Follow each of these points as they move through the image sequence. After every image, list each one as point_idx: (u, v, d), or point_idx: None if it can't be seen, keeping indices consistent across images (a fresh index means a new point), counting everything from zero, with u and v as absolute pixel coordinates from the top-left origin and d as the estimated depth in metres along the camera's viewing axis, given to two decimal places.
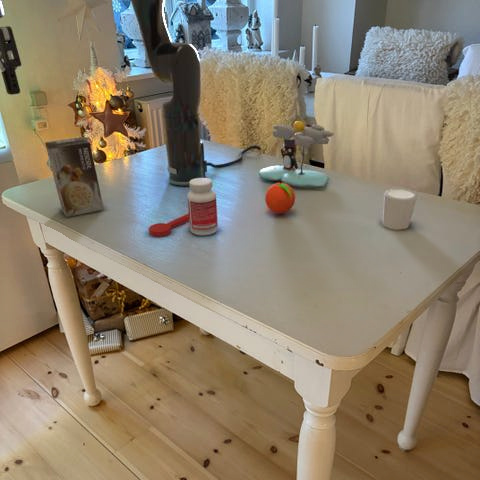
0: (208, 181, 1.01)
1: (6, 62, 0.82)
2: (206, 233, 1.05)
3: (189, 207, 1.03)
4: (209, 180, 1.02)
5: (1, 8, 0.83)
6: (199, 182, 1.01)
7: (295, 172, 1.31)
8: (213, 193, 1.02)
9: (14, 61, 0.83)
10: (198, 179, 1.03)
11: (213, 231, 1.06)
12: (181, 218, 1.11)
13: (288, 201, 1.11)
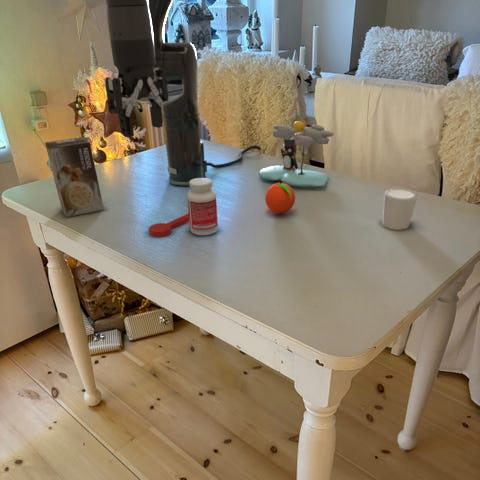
0: (208, 181, 1.01)
1: None
2: (206, 233, 1.05)
3: (189, 207, 1.03)
4: (209, 180, 1.02)
5: (134, 60, 0.85)
6: (199, 182, 1.01)
7: (295, 172, 1.31)
8: (213, 193, 1.02)
9: (114, 109, 0.87)
10: (198, 179, 1.03)
11: (213, 231, 1.06)
12: (181, 218, 1.11)
13: (288, 201, 1.11)
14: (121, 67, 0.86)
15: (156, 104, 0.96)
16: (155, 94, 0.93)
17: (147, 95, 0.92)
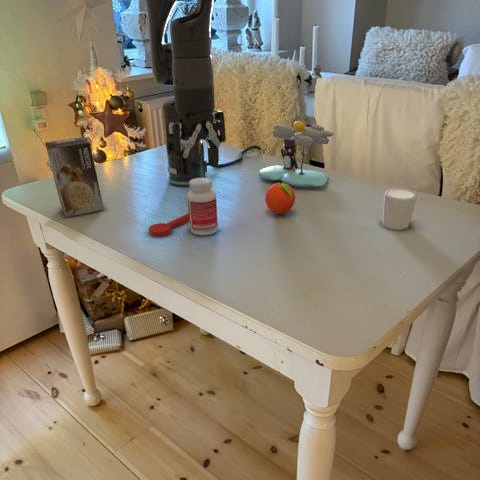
0: (208, 181, 1.01)
1: None
2: (206, 233, 1.05)
3: (189, 207, 1.03)
4: (209, 180, 1.02)
5: (194, 107, 0.90)
6: (199, 182, 1.01)
7: (295, 172, 1.31)
8: (213, 193, 1.02)
9: (172, 151, 0.93)
10: (198, 179, 1.03)
11: (213, 231, 1.06)
12: (181, 218, 1.11)
13: (288, 201, 1.11)
14: (182, 113, 0.91)
15: (213, 145, 1.00)
16: (213, 136, 0.97)
17: (205, 137, 0.97)
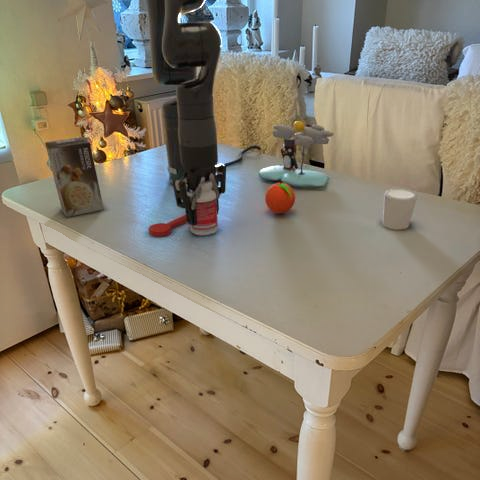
0: (208, 181, 1.01)
1: None
2: (206, 233, 1.05)
3: None
4: None
5: (198, 163, 0.96)
6: None
7: (295, 172, 1.31)
8: (213, 193, 1.02)
9: (181, 204, 1.00)
10: None
11: (213, 231, 1.06)
12: (181, 218, 1.11)
13: (288, 201, 1.11)
14: (187, 167, 0.97)
15: None
16: (214, 188, 1.03)
17: None
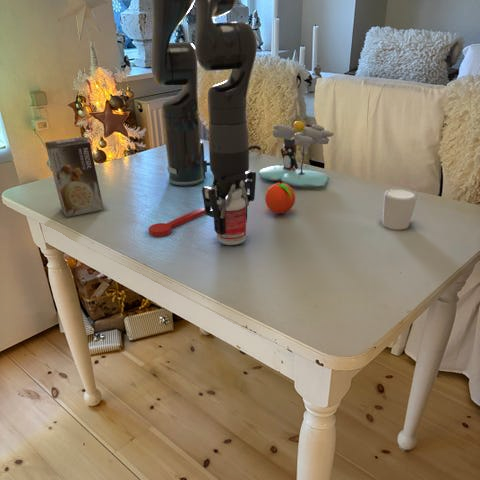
0: (238, 188, 0.97)
1: None
2: (234, 242, 1.01)
3: None
4: None
5: (229, 170, 0.91)
6: None
7: (295, 172, 1.31)
8: (243, 201, 0.98)
9: (210, 213, 0.95)
10: None
11: (242, 240, 1.01)
12: (181, 218, 1.11)
13: (288, 201, 1.11)
14: (217, 174, 0.93)
15: None
16: (244, 195, 0.99)
17: None
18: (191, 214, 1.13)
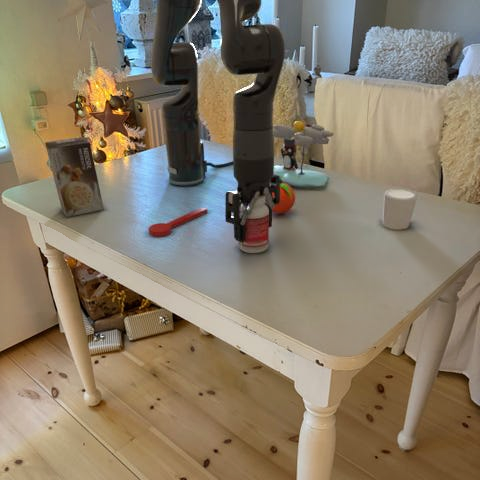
0: (261, 195, 0.94)
1: None
2: (257, 251, 0.98)
3: None
4: None
5: (254, 177, 0.88)
6: None
7: (295, 172, 1.31)
8: (266, 208, 0.95)
9: (231, 220, 0.91)
10: None
11: (264, 249, 0.99)
12: (181, 218, 1.11)
13: (288, 201, 1.11)
14: (241, 181, 0.90)
15: (268, 207, 0.99)
16: (269, 201, 0.96)
17: None
18: (191, 214, 1.13)
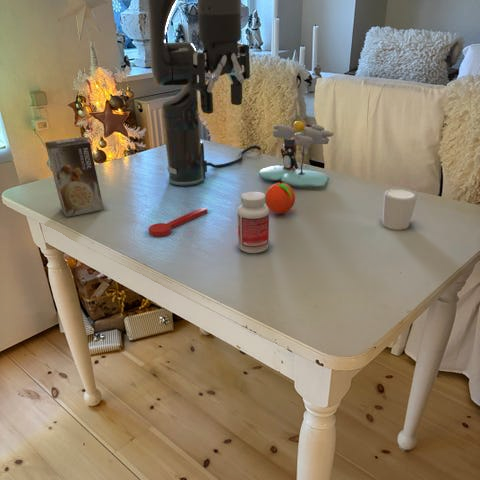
0: (261, 195, 0.94)
1: None
2: (257, 251, 0.98)
3: (241, 223, 0.96)
4: (262, 194, 0.95)
5: (220, 35, 0.85)
6: (252, 197, 0.94)
7: (295, 172, 1.31)
8: (266, 208, 0.95)
9: (196, 84, 0.88)
10: (250, 193, 0.95)
11: (264, 249, 0.99)
12: (181, 218, 1.11)
13: (288, 201, 1.11)
14: (207, 42, 0.86)
15: (237, 81, 0.95)
16: (237, 71, 0.92)
17: (229, 71, 0.92)
18: (191, 214, 1.13)
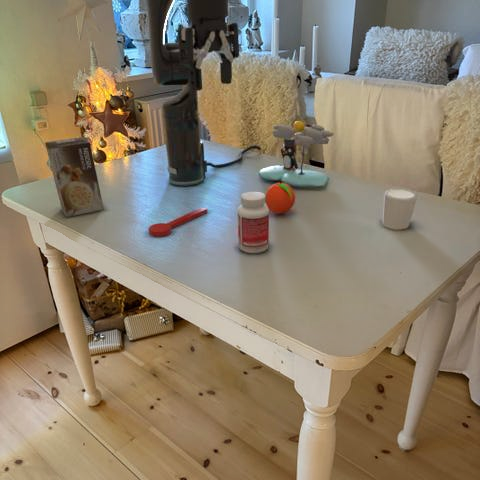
0: (261, 195, 0.94)
1: None
2: (257, 251, 0.98)
3: (241, 223, 0.96)
4: (262, 194, 0.95)
5: (208, 10, 0.86)
6: (252, 197, 0.94)
7: (295, 172, 1.31)
8: (266, 208, 0.95)
9: (185, 60, 0.89)
10: (250, 193, 0.95)
11: (264, 249, 0.99)
12: (181, 218, 1.11)
13: (288, 201, 1.11)
14: (195, 18, 0.87)
15: (226, 59, 0.96)
16: (226, 48, 0.93)
17: (218, 49, 0.93)
18: (191, 214, 1.13)
